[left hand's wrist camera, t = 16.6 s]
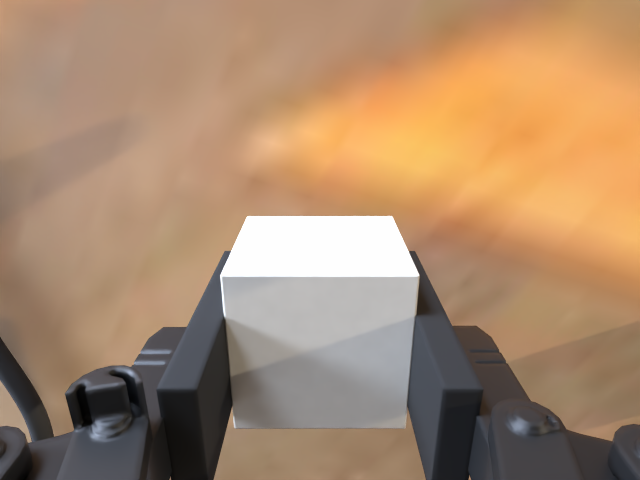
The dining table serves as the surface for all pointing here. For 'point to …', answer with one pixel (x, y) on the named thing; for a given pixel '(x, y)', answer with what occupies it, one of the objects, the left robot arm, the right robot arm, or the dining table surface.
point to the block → (319, 322)
